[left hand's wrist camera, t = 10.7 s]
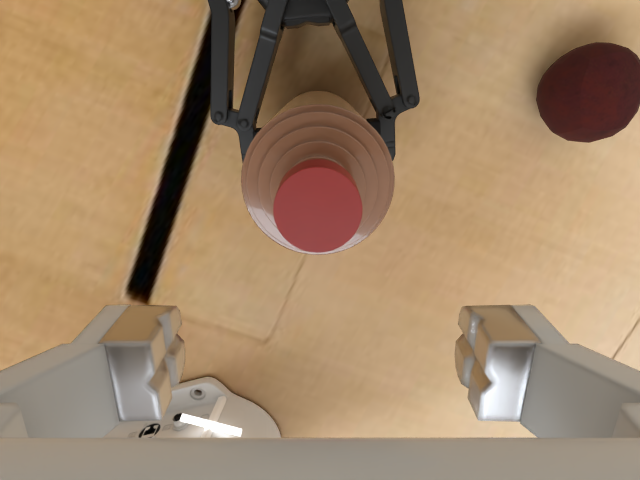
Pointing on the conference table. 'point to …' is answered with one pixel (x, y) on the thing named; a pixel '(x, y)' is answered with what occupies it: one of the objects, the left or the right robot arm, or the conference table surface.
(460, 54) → the conference table surface
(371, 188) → the bottle
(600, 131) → the dark maroon ball
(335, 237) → the cap
